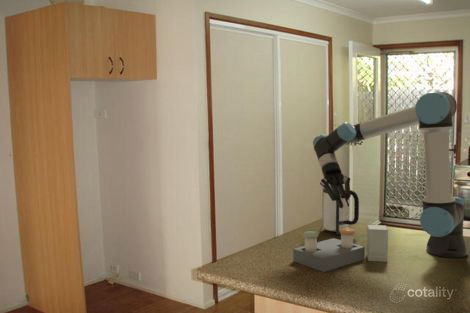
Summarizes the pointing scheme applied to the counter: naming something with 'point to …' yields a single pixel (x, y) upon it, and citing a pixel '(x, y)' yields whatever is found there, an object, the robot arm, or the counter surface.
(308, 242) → the green capped cylinder
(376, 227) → the supplement box
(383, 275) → the counter surface
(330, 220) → the coffee press
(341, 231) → the orange capped cylinder
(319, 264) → the console
